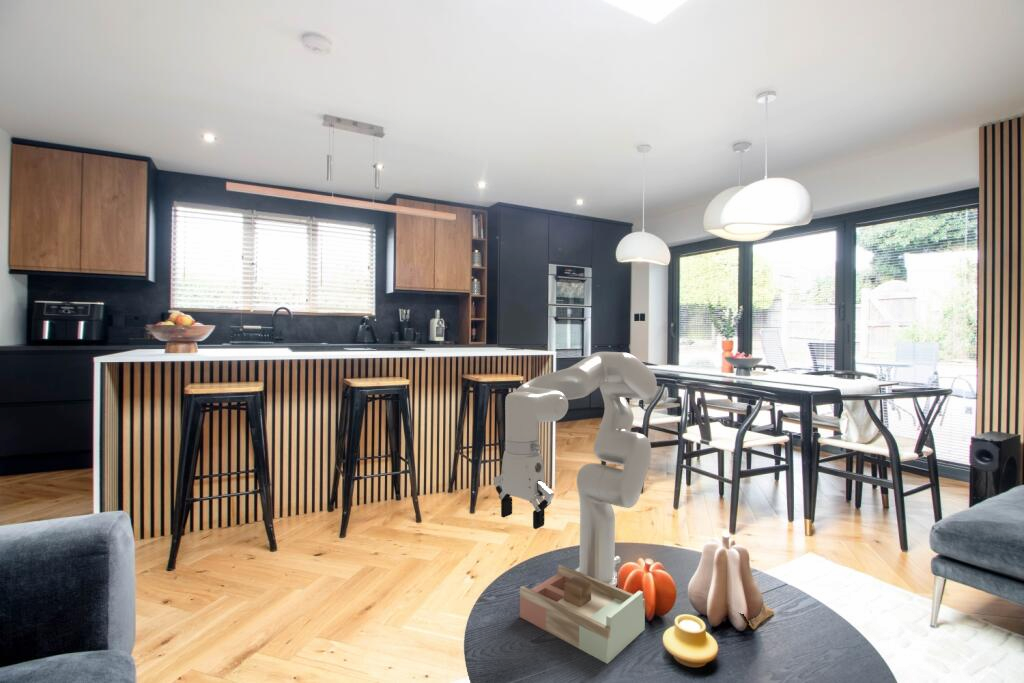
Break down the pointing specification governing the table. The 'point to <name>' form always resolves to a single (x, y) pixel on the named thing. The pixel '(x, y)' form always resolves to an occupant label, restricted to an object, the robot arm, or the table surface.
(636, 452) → the robot arm
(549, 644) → the table surface
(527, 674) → the table surface
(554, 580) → the box
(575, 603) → the walnut block
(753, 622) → the shard
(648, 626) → the table surface
